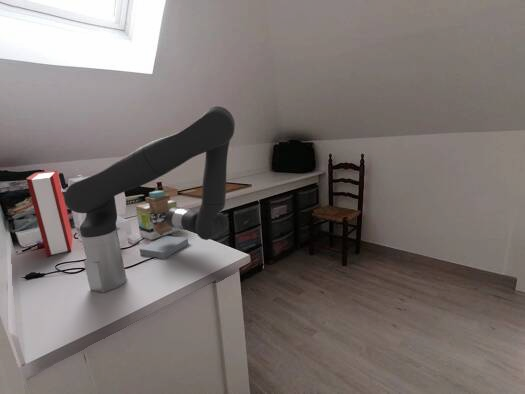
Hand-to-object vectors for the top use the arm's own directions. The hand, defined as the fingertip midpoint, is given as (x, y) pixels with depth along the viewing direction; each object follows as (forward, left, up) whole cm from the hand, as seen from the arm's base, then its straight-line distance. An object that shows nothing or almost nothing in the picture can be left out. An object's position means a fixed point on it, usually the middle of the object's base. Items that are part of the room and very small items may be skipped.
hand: (156, 213), depth 107 cm
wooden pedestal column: (-1, -3, -7) cm, 7 cm away
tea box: (+13, +14, -15) cm, 24 cm away
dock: (-1, -2, -15) cm, 15 cm away
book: (-10, +50, -15) cm, 53 cm away
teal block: (-1, -2, +6) cm, 6 cm away
